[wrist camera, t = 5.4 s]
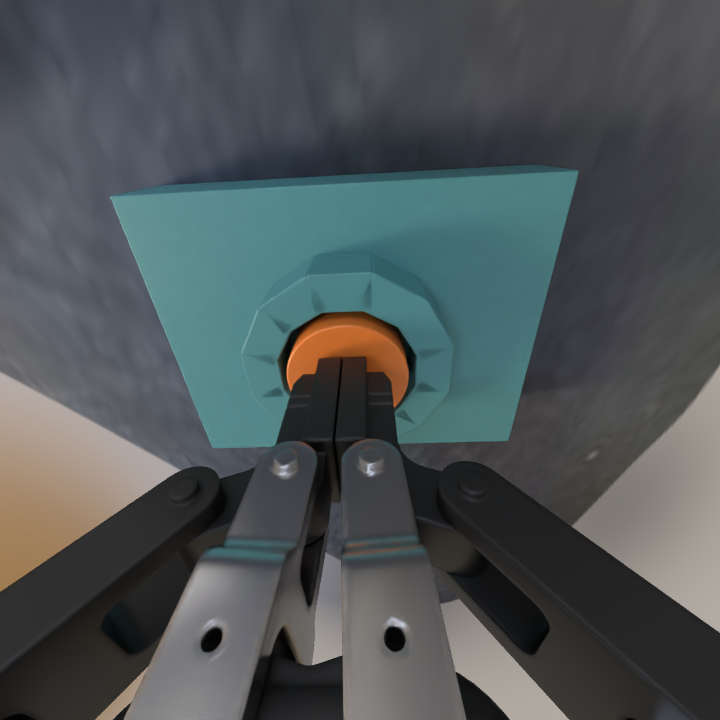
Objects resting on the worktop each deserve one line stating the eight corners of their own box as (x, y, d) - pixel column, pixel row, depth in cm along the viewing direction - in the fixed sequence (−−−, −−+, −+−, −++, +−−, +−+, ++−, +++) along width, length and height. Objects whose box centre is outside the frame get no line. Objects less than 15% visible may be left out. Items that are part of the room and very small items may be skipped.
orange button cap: (404, 296, 12) (411, 322, 10) (402, 388, 14) (407, 424, 12) (288, 300, 12) (275, 327, 10) (304, 391, 14) (296, 427, 12)
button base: (536, 164, 12) (624, 175, 8) (489, 400, 18) (526, 477, 14) (159, 185, 13) (58, 206, 9) (232, 407, 19) (194, 484, 15)
